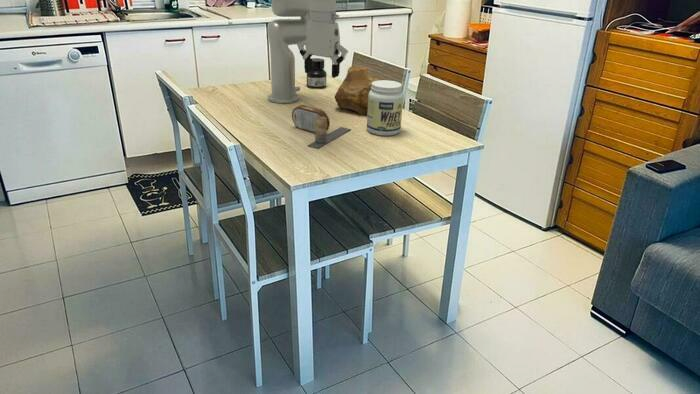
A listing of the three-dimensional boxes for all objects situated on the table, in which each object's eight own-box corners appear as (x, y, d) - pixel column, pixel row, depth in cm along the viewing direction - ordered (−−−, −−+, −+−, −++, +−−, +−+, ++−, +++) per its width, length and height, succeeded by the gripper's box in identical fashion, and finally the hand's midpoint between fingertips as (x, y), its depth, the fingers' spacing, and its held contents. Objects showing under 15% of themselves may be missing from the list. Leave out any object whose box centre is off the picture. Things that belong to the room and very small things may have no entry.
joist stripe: (340, 128, 189) (340, 127, 189) (350, 130, 188) (350, 129, 188) (307, 146, 172) (307, 145, 172) (318, 148, 170) (318, 147, 170)
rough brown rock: (325, 104, 218) (323, 68, 210) (361, 97, 224) (361, 62, 216) (349, 123, 200) (348, 84, 192) (388, 115, 205) (388, 77, 198)
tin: (329, 134, 183) (330, 110, 180) (324, 136, 181) (324, 112, 177) (296, 125, 191) (296, 102, 187) (290, 127, 188) (290, 104, 185)
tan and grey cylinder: (318, 139, 177) (319, 116, 174) (328, 141, 176) (328, 118, 172) (313, 142, 174) (313, 118, 171) (322, 144, 173) (323, 120, 169)
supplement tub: (377, 138, 181) (380, 89, 174) (360, 127, 191) (362, 80, 183) (407, 134, 186) (411, 86, 179) (389, 123, 196) (392, 78, 189)
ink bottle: (307, 89, 235) (307, 62, 230) (304, 84, 243) (304, 57, 237) (328, 88, 237) (329, 61, 232) (325, 83, 245) (325, 57, 239)
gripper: (354, 18, 157) (351, 76, 165) (304, 12, 164) (304, 68, 172) (342, 21, 151) (340, 81, 159) (291, 15, 158) (291, 72, 166)
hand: (321, 74), depth 165 cm, fingers open, 9 cm apart
